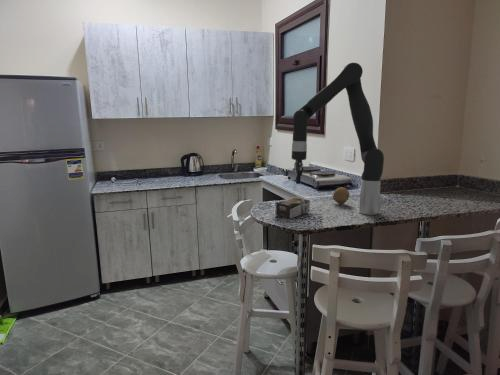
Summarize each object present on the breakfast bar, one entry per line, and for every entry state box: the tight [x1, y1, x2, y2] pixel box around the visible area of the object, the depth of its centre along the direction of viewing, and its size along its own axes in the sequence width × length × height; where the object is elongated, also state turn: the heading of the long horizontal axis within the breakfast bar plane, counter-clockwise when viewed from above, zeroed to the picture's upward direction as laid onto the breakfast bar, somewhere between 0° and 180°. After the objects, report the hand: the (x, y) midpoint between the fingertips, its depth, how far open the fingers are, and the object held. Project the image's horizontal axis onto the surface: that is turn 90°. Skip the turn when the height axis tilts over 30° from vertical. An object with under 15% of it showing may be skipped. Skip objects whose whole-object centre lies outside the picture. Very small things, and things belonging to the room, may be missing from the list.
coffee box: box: [275, 196, 311, 220], centre depth 179 cm, size 9×6×16 cm
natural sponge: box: [332, 186, 350, 205], centre depth 199 cm, size 9×9×10 cm
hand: (297, 183), depth 185 cm, fingers closed
